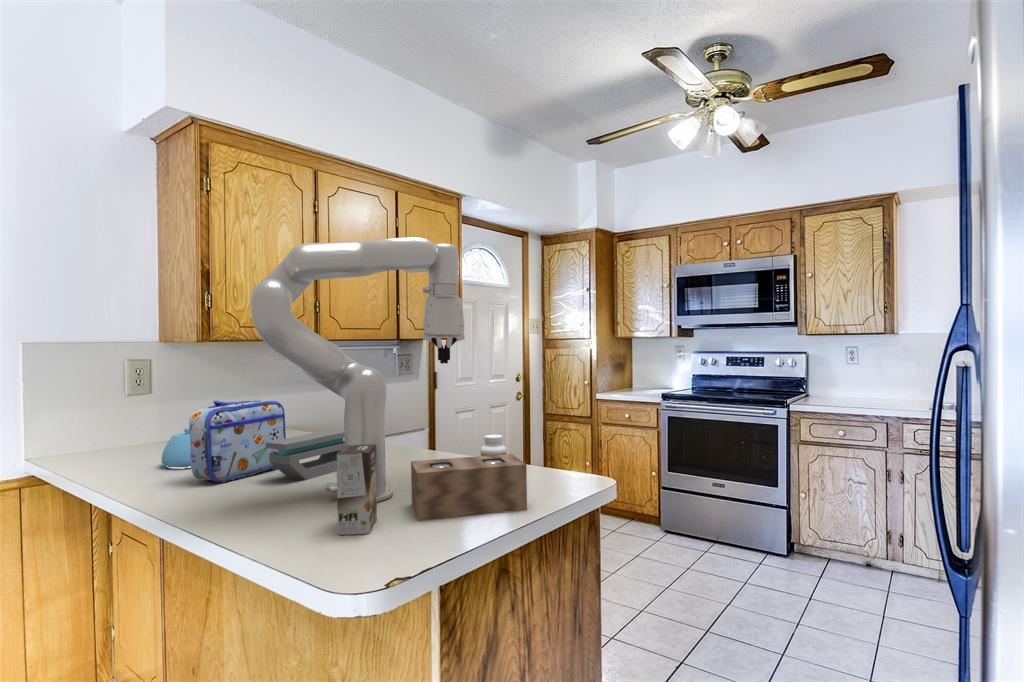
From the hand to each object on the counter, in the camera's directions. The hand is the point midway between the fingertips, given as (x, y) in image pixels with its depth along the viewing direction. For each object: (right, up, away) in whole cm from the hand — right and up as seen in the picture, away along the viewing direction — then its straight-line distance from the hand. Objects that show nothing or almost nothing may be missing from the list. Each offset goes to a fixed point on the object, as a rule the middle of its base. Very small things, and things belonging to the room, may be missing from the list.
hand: (444, 363), depth 145 cm
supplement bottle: (+13, -32, -1) cm, 34 cm away
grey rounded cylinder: (+2, -31, -20) cm, 37 cm away
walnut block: (+8, -32, -19) cm, 38 cm away
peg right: (+13, -31, -17) cm, 38 cm away
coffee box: (-14, -32, -31) cm, 47 cm away
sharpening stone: (-39, -33, +16) cm, 54 cm away
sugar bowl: (-83, -33, +30) cm, 94 cm away
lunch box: (-60, -33, +15) cm, 70 cm away
